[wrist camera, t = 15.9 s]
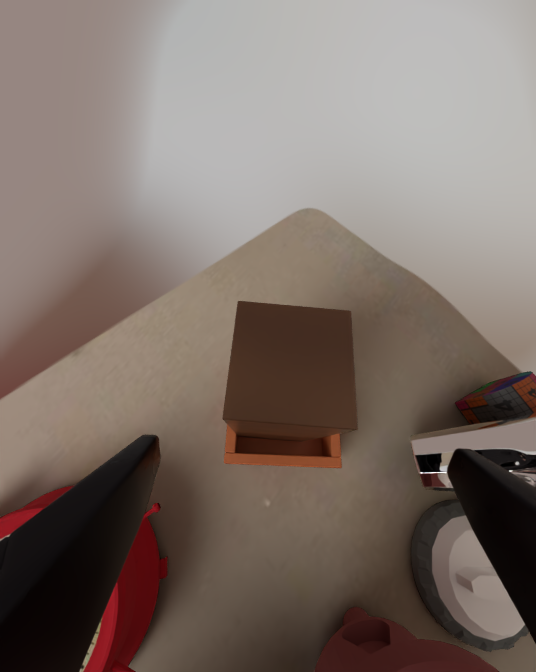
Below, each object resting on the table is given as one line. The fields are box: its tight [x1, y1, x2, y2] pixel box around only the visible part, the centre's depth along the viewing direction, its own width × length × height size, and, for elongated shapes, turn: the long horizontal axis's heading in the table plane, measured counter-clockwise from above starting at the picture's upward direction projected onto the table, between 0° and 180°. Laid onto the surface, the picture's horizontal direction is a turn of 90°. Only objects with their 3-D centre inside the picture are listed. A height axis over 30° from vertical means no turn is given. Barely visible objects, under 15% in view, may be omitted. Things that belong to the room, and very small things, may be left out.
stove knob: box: [411, 500, 529, 652], centre depth 16 cm, size 7×7×3 cm
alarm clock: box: [0, 485, 167, 672], centre depth 14 cm, size 10×6×15 cm
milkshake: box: [410, 412, 536, 491], centre depth 16 cm, size 4×5×10 cm
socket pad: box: [224, 424, 342, 468], centre depth 19 cm, size 7×7×3 cm
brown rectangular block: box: [223, 301, 358, 442], centre depth 15 cm, size 4×4×11 cm
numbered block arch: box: [455, 372, 536, 425], centre depth 18 cm, size 8×5×4 cm
